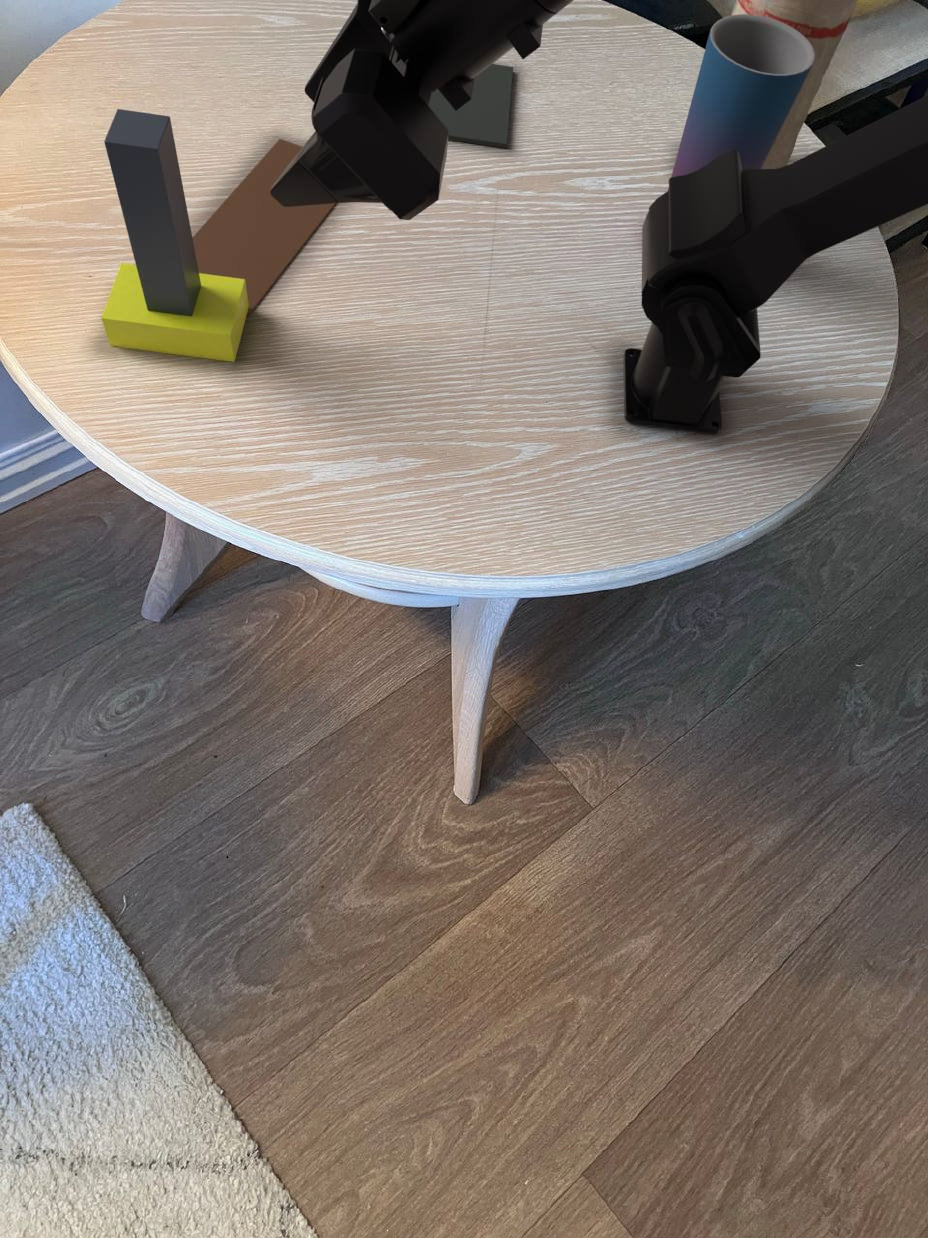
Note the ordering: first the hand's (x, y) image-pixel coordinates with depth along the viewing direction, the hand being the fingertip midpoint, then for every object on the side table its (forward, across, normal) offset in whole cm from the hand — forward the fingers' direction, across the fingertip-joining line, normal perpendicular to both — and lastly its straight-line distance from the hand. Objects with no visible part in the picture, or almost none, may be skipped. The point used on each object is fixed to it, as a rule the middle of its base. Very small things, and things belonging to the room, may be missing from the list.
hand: (294, 144), depth 51 cm
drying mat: (+6, -29, +14) cm, 33 cm away
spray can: (-11, -26, +31) cm, 42 cm away
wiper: (+15, +1, +4) cm, 16 cm away
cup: (-8, -16, +29) cm, 34 cm away
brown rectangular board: (+13, -10, +6) cm, 18 cm away
